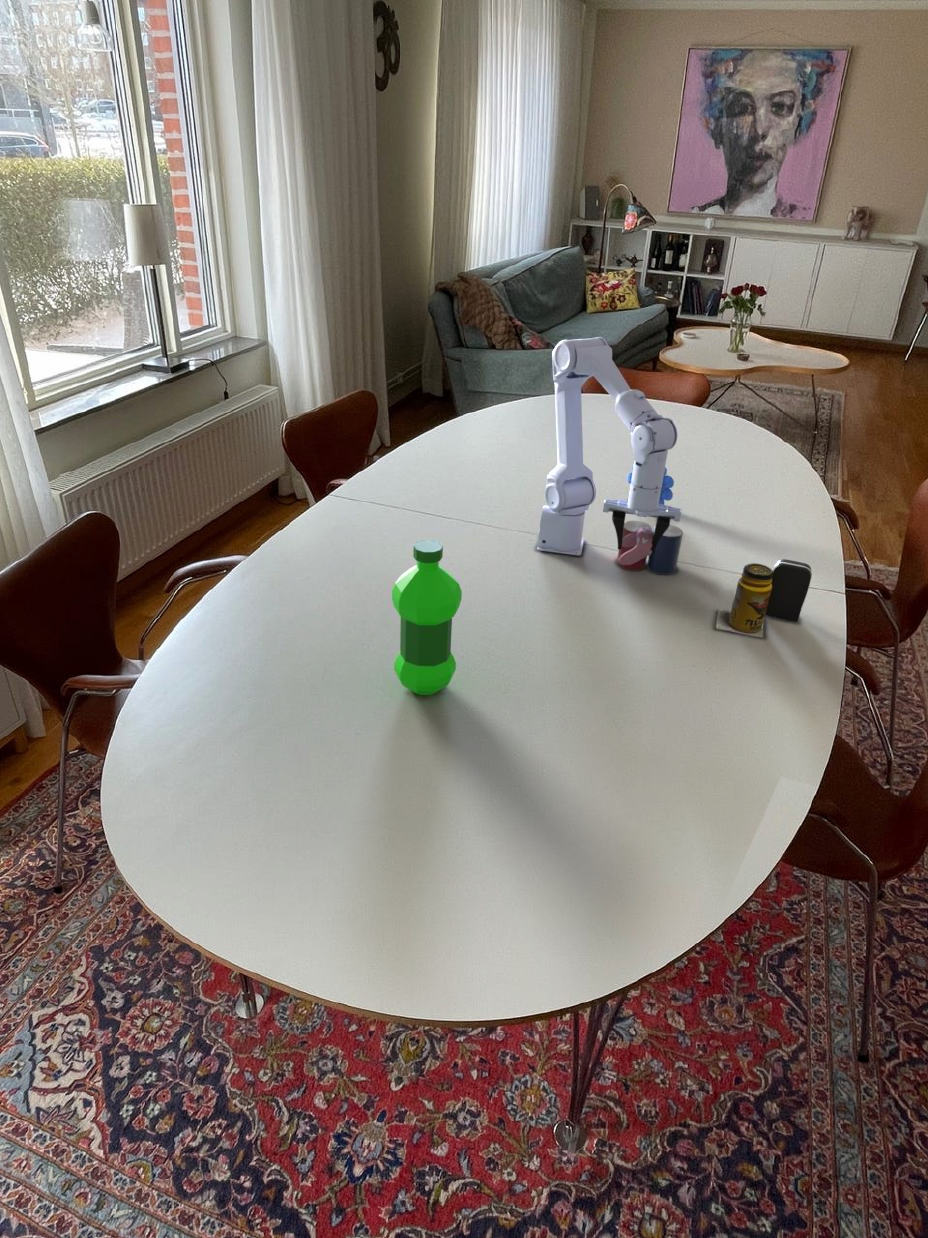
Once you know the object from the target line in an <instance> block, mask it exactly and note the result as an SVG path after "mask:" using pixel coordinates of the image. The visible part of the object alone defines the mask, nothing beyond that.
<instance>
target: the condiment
mask: <svg viewBox="0 0 928 1238" xmlns="http://www.w3.org/2000/svg"><path fill="white" fill-rule="evenodd" d="M772 577H773V569H772V568H770V567H769V566H767V565H764V564H761V563H757V562H756V563H754V562H753V563H748V564H746V565H744V567H743V569H742V573H741V577H740V578H739V579H738V580H737V584H736V589H735V593H734V595H733V600H732V603H731V604H732V605H731V609H730V611H726V610H722V609H717V616H716V625H715V629H717V630H722V631H728V632H733V633H737V634H742V635H745V636H750V637H756V638H764V619H765V616H766V615H765V612H766V608H767V605H768V601H769V597H770V593H771V589H772V584H771V582H772Z"/></svg>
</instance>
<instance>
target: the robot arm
mask: <svg viewBox="0 0 928 1238" xmlns="http://www.w3.org/2000/svg"><path fill="white" fill-rule="evenodd" d="M551 361H552V381H553V382H554V383H553V384H554V403H555V404H554V405H555V406H554V407H555V428H556V429H555V431H556V432H555V433H556V457H557V459H556V460H557V465H556V466H555V467H554V468H553V469H552V470H551V471H550V472H549V473H548V474H547V475H546V486H545V490H544V500H545V503H546V505H543V506H542V509H541V515H540V520H539V529H538V533H537V538H538V541H537V547H536V550H538V551H541V552H549V553H555V554H561V555H562V554H563V555H570V556H577V557H578V556H579V557H580V556H582V551H583V547H584V542H585V539H583V533H584V532H583V531H584V526H585V525H584V524H585V515H586V511H588V510H589V507H590V506H591V505H592V504H593V503H594V502H595V500H596V495H597V488H596V485H595V481H594V477H593V476H594V475H593V471H592V469H590V468H589V467H587V466H586V465H585V464H584V447H583V446H584V445H583V444H584V443H583V440H584V439H583V410H582V409H583V406H582V387H583V385H585V383H586V382H587V381H588V380H589V379H590V378H592V377H593V378H594V379H595V380H596V381H597V383H599V384H600V385H601V386H602V388H603V389H604V390H605V391H606V392H607V393H608V395H610V397H611V398H612V400H614V401H615V402H614V412H615V413H616V414H617V416H618V417H619V418H620V420H621V421H622V423H623V424H624V425H625V426H626V428H627V429H628V430H629V432H630V443H631V446H632V460H633V464H634V466H633V471H632V472H631V473H632V479H631V484H629V492H628V499H608V498H607V499H606V498H605V499H604V501H603V508H602V513H607V514H608V513H609V512H610V513H612V516H611V520H612V525H613V526H614V529H615V534H616V538H617V550H619V549H620V550H621V548H622V541H623V528H624V523H625V522H626V515H635V516H636V517H640V518H641V517H642V518H647V517H650V518H656V519H655V524H654V528H655V529H654V528H653V530H654V535H653V538H652V542H651V543H652V547H651V549H650V550H652V553H651V554H654V550H655V548H656V545H657V543H658V542H659V540H660V538H661V537H662V535H663V534H664V533H665V531H666V530H667V529H668V527H669V525H671V520H673V521H674V522H678V523H680V522H681V517H682V508H681V507H673V506H670V505H665V504H664V505H662V504H659V499H660V493H661V487H662V482H663V476H664V470H665V467H666V464H667V460H668V459H667V457H668V454H669V453H668V452H669V450H672V449H673V448H674V447H675V446H676V444H677V440H678V430H677V429H678V428H677V426H676V424H675V423H674V421H673V420H672V418H669V417H664V416H663V415H662V414H659V413H658V412H657V411H656V410H655V408H654V407H653V405H651V403H650V402H649V401H648V399H647V398H646V395H645V393H644V392H643V391H641V390H639V389H631V388H630V386H629V384H628V382H627V381H626V379H625V378H624V376H623V374H622V372H621V371H620V370H619V368H618V367H617V365H616V364H615V362H614V360H613V349H612V347H611V346H610V345H609V344H608V341H607V340H606V339H605V338H604V337H603V336H602V337H601V336H596V337H592V338H579V339H562V340H560V341H559V342H558V343H557V344H556V346H555V347H554V349H553V350H552V352H551Z"/></svg>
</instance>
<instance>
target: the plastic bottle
mask: <svg viewBox="0 0 928 1238" xmlns="http://www.w3.org/2000/svg"><path fill="white" fill-rule="evenodd" d="M443 550H444V546H443V544H442V543H441V542H439V541H436V540H434V539H432V540H431V539H422V540H420V541H416V542H415V543H414V544H413V554H412V555H413V556H412V557H413V558H414V560H415V561H416V565H414V566H413V567H410V568H409V569H408V570H406V571H405V572H404V573H402V574H401V575H400V576H399V578H398V579H397V581H395V584H394V585H393V588H392V591H391V600H392V605H393V608H394V609H395V611H396V612H397V613H398V616H400V634H399V635H400V639H399V642H400V644H399V645H400V647H399V648H400V649H399V653H398V654H397V656H396V658H395V661H394V663H393V670H394V672H395V674H396V676H397V678H398V680H399V682H400V684H401V685H402V686H403V687H404V688H406V689H408V690H410V691H411V693H413V694H416V695H419V696H431V695H433V694H435V693H438V692H439V691H440V690H442V689H444V688H446V687H447V686H448V685H449V684H450V682H451V680H452V678H453V676H454V674H455V672H456V670H457V662H456V659H455V657H454V655H453V654H452V651H451V649H452V628H453V618H454V617H455V615H456V613H457V612H458V610H459V608H460V605H461V601H462V593H463V592H462V589H461V585H460V583H459V582H458V581H457V579H455V578H454V576H453V575H452V574H450V573H449V572H448V571H447V570H445V569H444V568H443V567H442V566H440V564H439V562H440V561H441V560H442V559H443V554H444V553H443Z"/></svg>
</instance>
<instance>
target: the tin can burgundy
mask: <svg viewBox="0 0 928 1238" xmlns="http://www.w3.org/2000/svg"><path fill="white" fill-rule="evenodd" d="M643 526H644V527H645V528H650V529H651V530H652V526H651V525H650V524H649V523H647V522H644V521H641V520H627V521H625V522H624V528H623V538H624V537H625V536H627V535H629V534H631V533H633V532H635V531H636V530H637V529H639V528H640V527H643ZM652 531H653V530H652ZM635 546H636V545H635ZM635 546H632V547H623V546H622V548H621V550H620V549H618V551H617V552H618V553H617V558H616V564H617V565H618V566H619V567H621V568H623V569H625V570H630V571H639V570H643V569H644V568H645V567H646V565H647V560H648V555H647V556H646V557H645V558H643V559H641V560H639V561H638V562H636V563H633V564H630V565H622V564H620V562H619V558H620V556H621V555H622V554H624V553H625V552H627V551H629V550H631V549H633V548H634V547H635Z"/></svg>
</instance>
